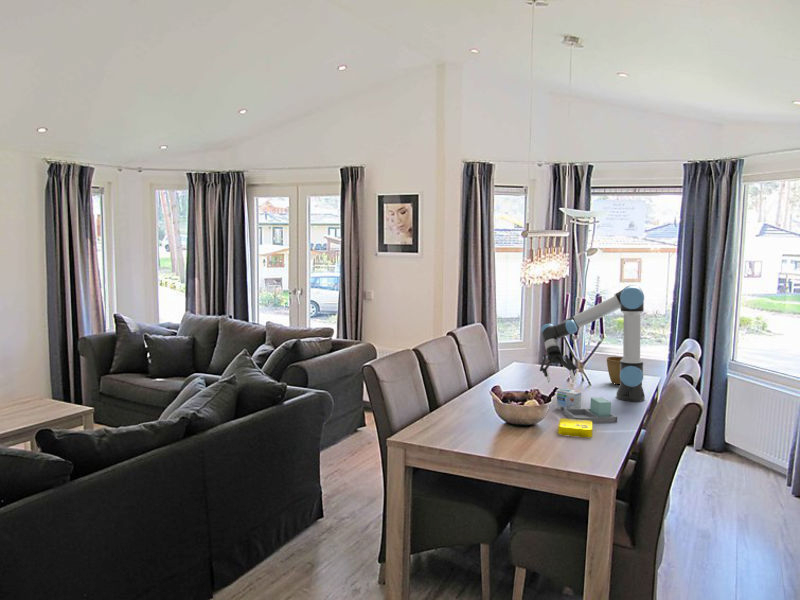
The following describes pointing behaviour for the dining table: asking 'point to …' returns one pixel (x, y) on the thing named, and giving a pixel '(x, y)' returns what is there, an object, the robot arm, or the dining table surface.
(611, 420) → the tray
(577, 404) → the light bulb box
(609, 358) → the plant pot
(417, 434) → the dining table surface
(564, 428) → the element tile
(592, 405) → the teal block
